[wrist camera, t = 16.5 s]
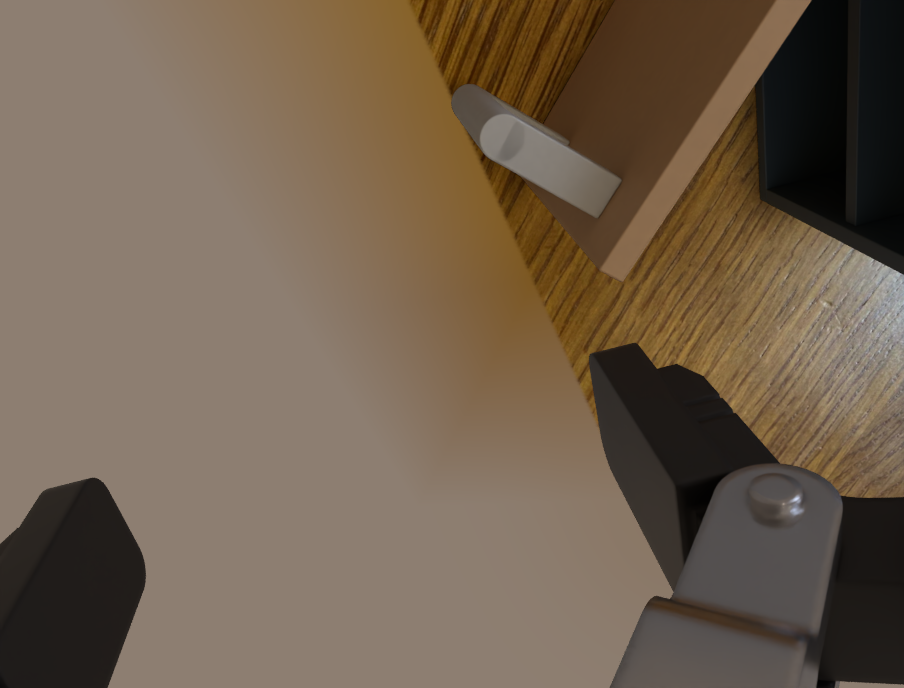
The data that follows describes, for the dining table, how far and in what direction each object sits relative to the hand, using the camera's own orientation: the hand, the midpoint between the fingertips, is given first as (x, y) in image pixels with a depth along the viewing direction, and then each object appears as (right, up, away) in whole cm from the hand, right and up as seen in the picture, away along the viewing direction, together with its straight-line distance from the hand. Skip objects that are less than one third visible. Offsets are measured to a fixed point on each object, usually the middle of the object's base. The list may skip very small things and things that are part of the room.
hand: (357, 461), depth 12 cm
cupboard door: (+7, +19, +23) cm, 31 cm away
